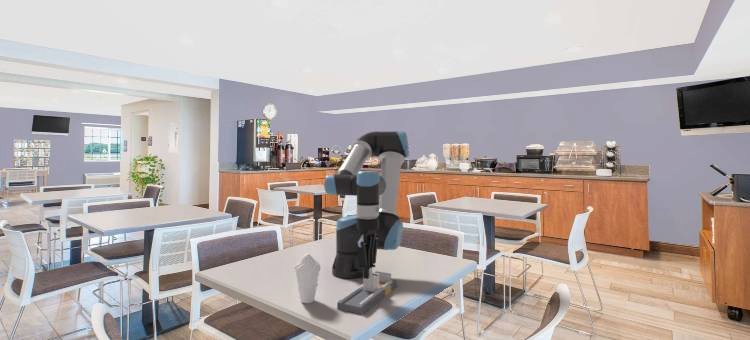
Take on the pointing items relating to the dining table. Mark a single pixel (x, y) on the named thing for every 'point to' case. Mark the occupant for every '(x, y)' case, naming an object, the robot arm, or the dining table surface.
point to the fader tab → (374, 283)
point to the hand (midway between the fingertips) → (367, 286)
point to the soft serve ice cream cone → (307, 278)
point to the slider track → (366, 295)
